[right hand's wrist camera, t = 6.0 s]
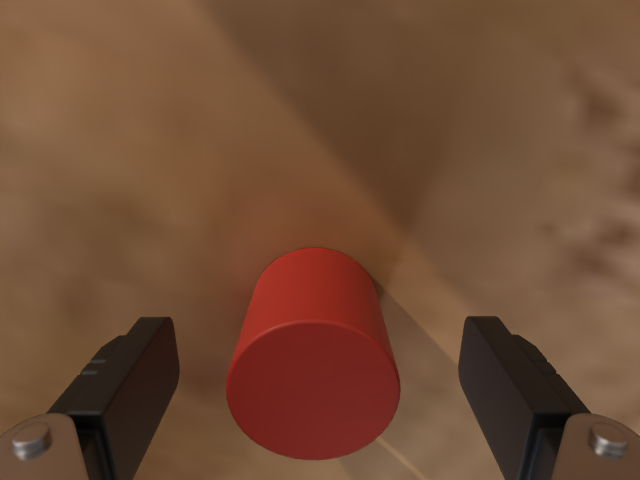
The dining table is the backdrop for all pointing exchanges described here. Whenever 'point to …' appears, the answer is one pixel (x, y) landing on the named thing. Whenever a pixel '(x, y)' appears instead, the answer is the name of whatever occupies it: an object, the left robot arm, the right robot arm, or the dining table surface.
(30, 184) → the dining table surface
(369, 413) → the cylinder
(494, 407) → the right robot arm
